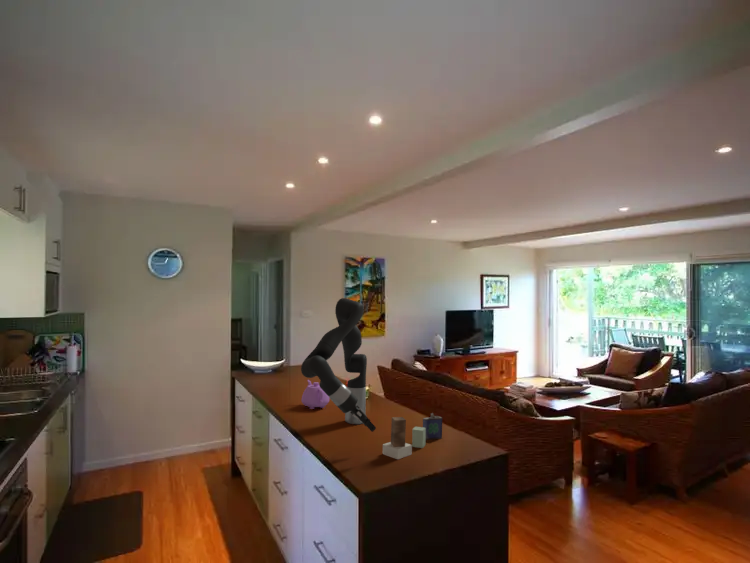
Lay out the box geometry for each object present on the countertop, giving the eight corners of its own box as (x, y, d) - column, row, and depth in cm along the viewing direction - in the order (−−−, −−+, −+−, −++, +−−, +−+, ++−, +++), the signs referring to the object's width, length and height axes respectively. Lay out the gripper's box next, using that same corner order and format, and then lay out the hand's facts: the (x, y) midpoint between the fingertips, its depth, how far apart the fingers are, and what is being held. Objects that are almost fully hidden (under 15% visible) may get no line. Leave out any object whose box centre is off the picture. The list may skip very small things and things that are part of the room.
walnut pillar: (393, 446, 161) (394, 420, 161) (390, 443, 165) (391, 417, 166) (405, 446, 162) (405, 420, 162) (401, 442, 166) (402, 417, 167)
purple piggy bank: (295, 404, 243) (295, 380, 244) (320, 401, 250) (321, 378, 251) (308, 412, 224) (308, 386, 224) (335, 409, 231) (335, 384, 232)
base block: (382, 454, 164) (382, 444, 164) (396, 450, 169) (396, 439, 169) (397, 460, 158) (397, 449, 158) (411, 455, 163) (411, 444, 164)
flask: (424, 440, 181) (424, 415, 181) (421, 438, 184) (421, 413, 184) (443, 438, 184) (443, 413, 184) (440, 436, 186) (440, 412, 187)
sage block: (412, 446, 172) (412, 429, 173) (414, 443, 177) (415, 426, 177) (422, 448, 171) (423, 430, 171) (425, 444, 175) (425, 427, 176)
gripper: (354, 393, 153) (383, 424, 156) (345, 387, 167) (372, 415, 170) (340, 409, 151) (369, 439, 154) (331, 401, 165) (358, 429, 168)
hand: (370, 426), depth 162 cm, fingers open, 8 cm apart
